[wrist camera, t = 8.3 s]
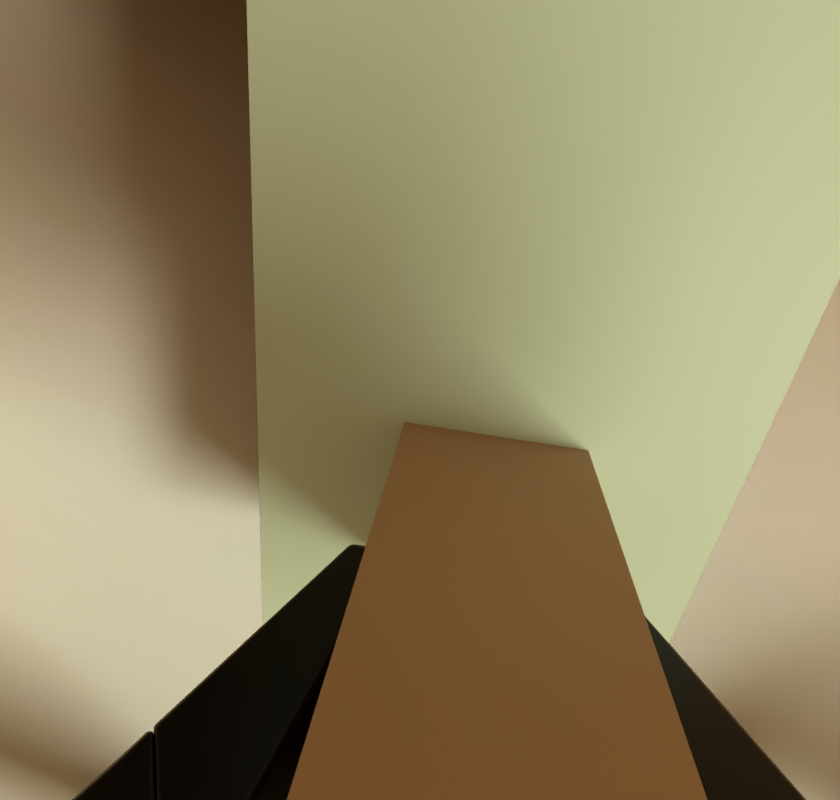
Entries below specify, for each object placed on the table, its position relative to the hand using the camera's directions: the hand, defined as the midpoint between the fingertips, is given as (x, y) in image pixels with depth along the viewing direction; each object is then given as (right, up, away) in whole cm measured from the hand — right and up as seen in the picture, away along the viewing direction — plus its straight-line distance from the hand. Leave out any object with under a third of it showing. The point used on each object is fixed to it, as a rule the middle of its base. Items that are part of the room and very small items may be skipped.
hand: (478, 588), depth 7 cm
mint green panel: (+1, +3, +1) cm, 3 cm away
